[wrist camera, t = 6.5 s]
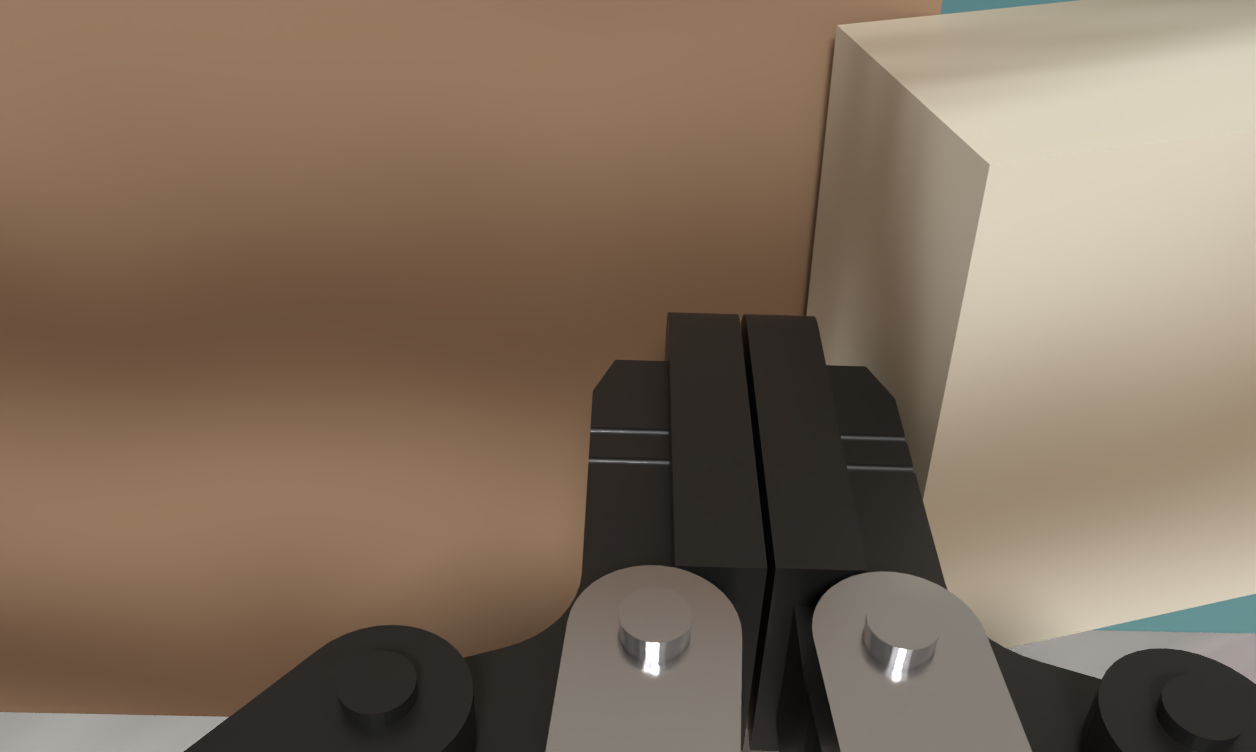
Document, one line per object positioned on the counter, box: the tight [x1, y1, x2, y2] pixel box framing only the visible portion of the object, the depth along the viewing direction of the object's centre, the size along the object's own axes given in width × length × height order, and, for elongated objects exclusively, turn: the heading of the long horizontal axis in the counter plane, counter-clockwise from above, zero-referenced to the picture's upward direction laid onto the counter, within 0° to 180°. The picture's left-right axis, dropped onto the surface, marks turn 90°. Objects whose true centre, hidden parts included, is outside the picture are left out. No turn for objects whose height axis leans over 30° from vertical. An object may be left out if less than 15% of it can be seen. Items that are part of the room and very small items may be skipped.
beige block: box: [806, 0, 1256, 649], centre depth 13 cm, size 6×9×3 cm, turn 90°
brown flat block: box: [0, 0, 943, 727], centre depth 14 cm, size 16×14×2 cm
